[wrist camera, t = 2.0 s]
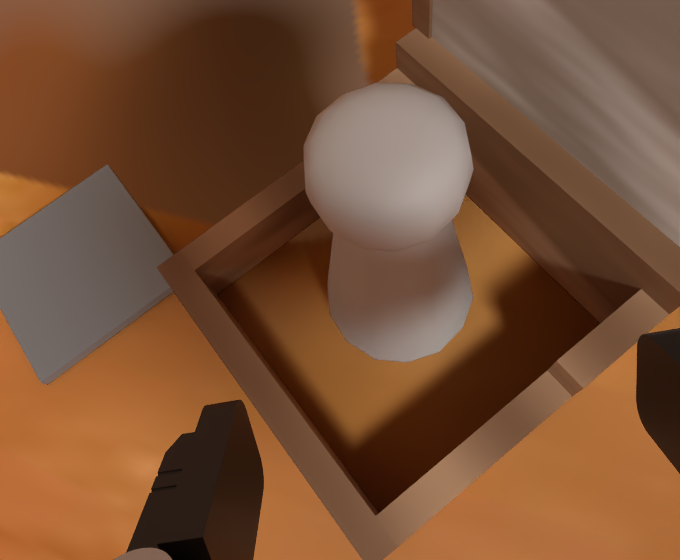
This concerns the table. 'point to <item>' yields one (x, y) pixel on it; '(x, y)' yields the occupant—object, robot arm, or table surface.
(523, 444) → the table surface
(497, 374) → the table surface
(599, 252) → the frame
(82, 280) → the plate
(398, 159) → the salt shaker
